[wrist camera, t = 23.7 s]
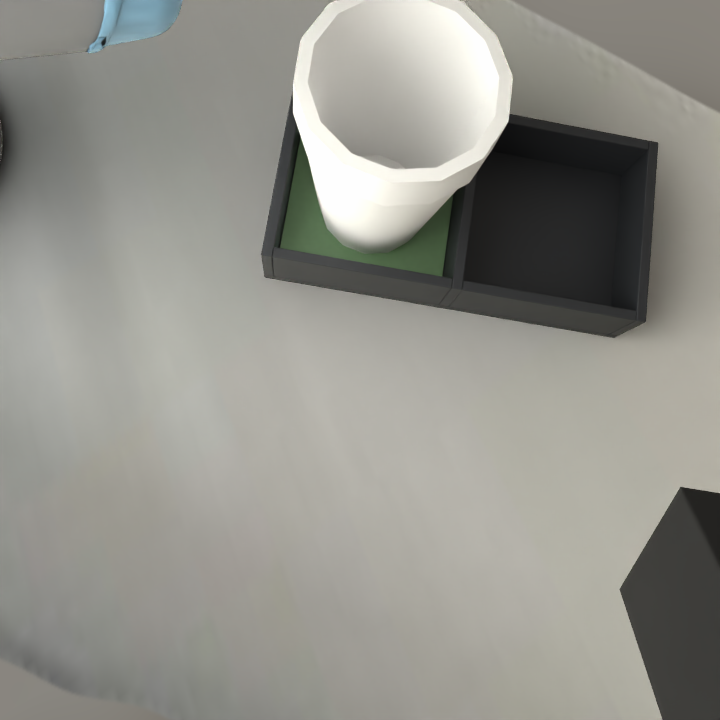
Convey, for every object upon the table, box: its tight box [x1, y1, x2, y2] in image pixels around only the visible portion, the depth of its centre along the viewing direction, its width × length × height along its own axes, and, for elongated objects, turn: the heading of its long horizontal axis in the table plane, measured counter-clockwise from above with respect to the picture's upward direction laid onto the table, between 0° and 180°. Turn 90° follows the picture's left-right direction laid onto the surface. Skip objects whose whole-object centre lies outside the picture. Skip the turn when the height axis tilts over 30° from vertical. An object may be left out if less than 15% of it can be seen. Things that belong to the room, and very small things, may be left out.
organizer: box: [261, 91, 658, 338], centre depth 41 cm, size 22×11×4 cm, turn 81°
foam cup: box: [293, 0, 513, 254], centre depth 36 cm, size 10×9×13 cm
